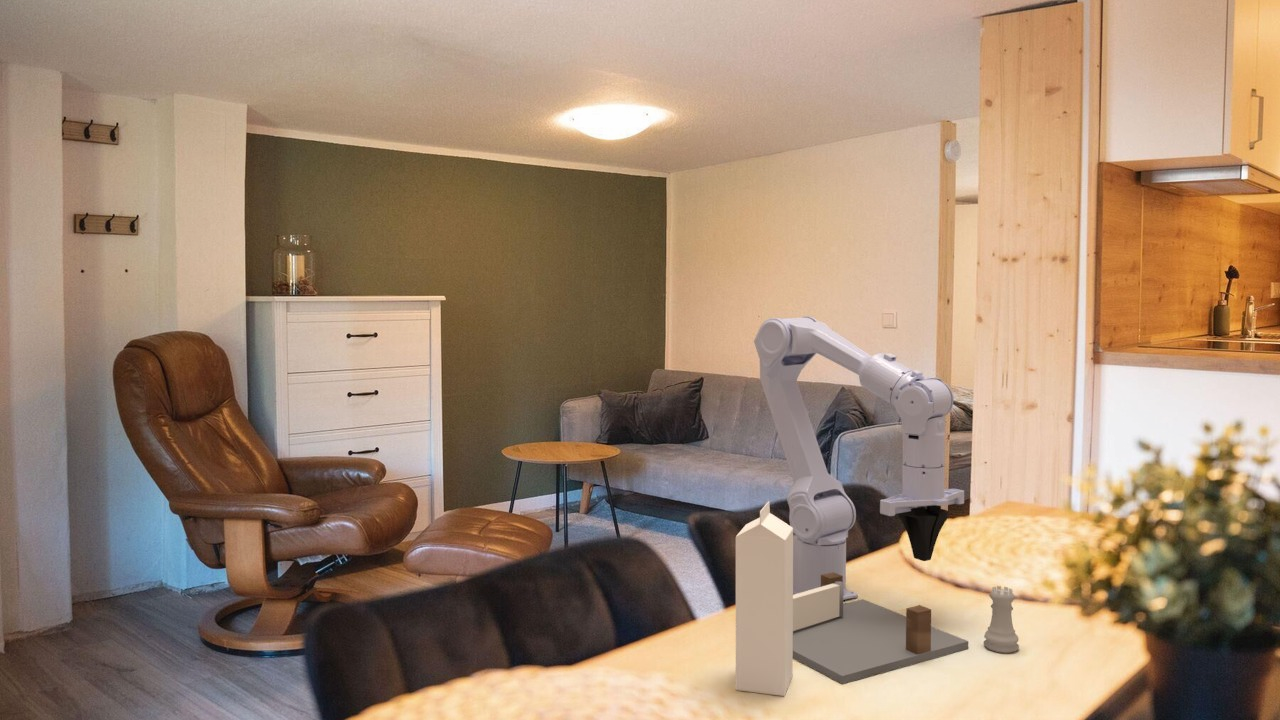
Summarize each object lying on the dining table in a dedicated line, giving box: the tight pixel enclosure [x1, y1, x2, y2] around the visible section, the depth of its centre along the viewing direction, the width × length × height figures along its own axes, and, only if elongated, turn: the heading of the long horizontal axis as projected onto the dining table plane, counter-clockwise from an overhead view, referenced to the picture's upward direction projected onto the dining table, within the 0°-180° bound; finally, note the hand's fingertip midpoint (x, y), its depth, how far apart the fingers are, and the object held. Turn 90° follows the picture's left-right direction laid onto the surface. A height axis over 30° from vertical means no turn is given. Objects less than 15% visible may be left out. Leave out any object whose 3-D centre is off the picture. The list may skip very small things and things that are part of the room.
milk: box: [735, 500, 794, 697], centre depth 115 cm, size 6×6×22 cm
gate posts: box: [821, 572, 932, 654], centre depth 131 cm, size 19×2×6 cm, turn 30°
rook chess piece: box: [983, 585, 1020, 654], centre depth 127 cm, size 4×4×8 cm
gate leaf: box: [793, 581, 844, 631], centre depth 132 cm, size 13×2×5 cm, turn 127°
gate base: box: [793, 598, 969, 685], centre depth 130 cm, size 20×22×1 cm
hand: (922, 558), depth 135 cm, fingers closed
